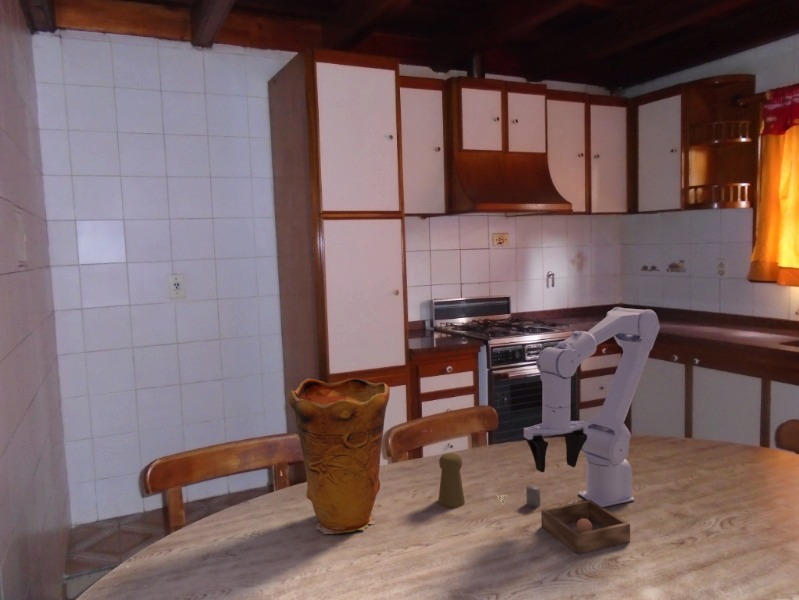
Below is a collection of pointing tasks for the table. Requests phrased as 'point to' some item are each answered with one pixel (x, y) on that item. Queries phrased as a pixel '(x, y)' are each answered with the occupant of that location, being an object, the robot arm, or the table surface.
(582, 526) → the terracotta ball
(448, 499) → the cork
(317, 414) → the vase
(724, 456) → the table surface
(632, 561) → the table surface
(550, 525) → the walnut crate
